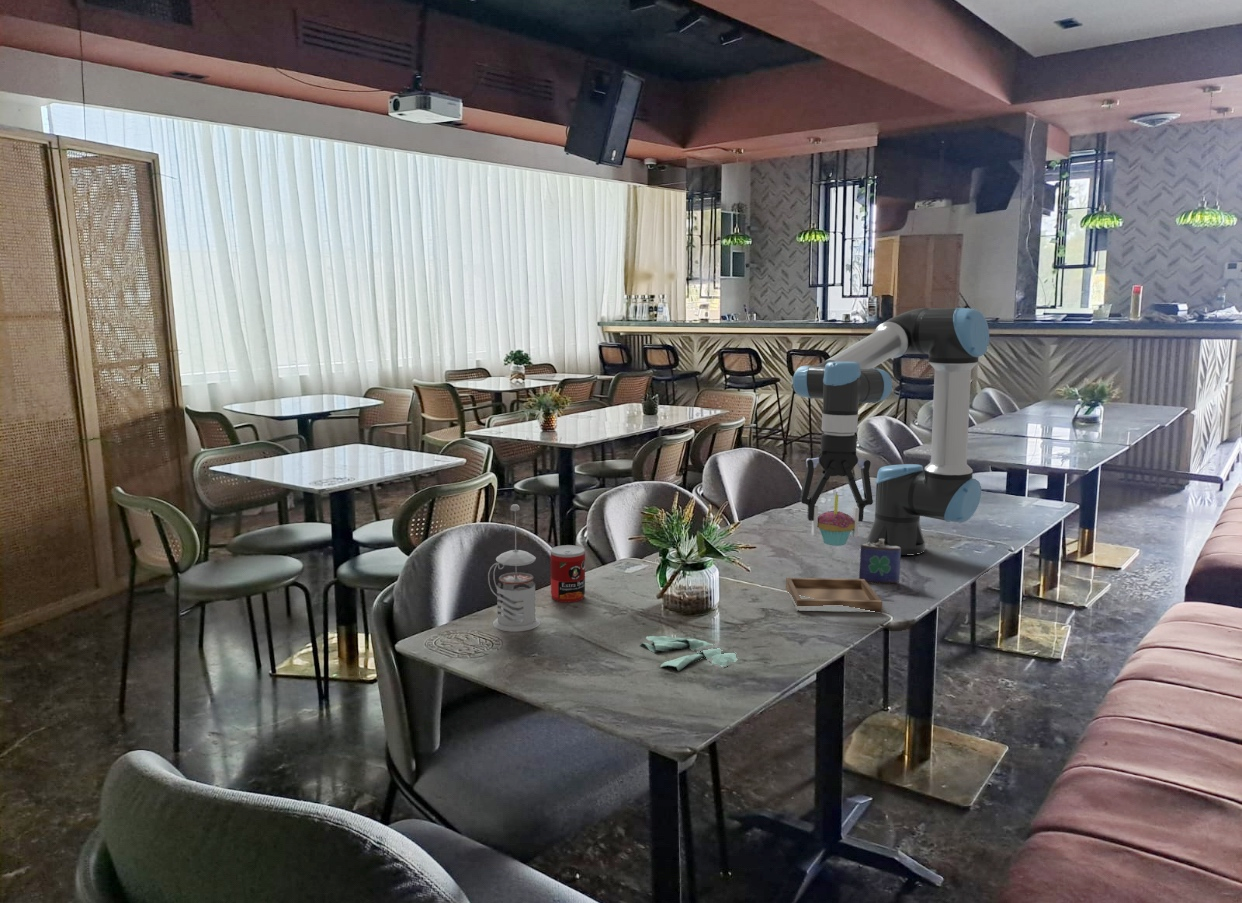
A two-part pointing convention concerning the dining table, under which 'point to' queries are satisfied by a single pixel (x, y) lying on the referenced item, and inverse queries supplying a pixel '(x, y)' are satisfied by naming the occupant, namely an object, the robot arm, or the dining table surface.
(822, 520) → the cupcake
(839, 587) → the tray
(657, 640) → the cloth
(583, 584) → the canned food
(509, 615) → the french press
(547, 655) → the dining table surface
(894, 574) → the flask
